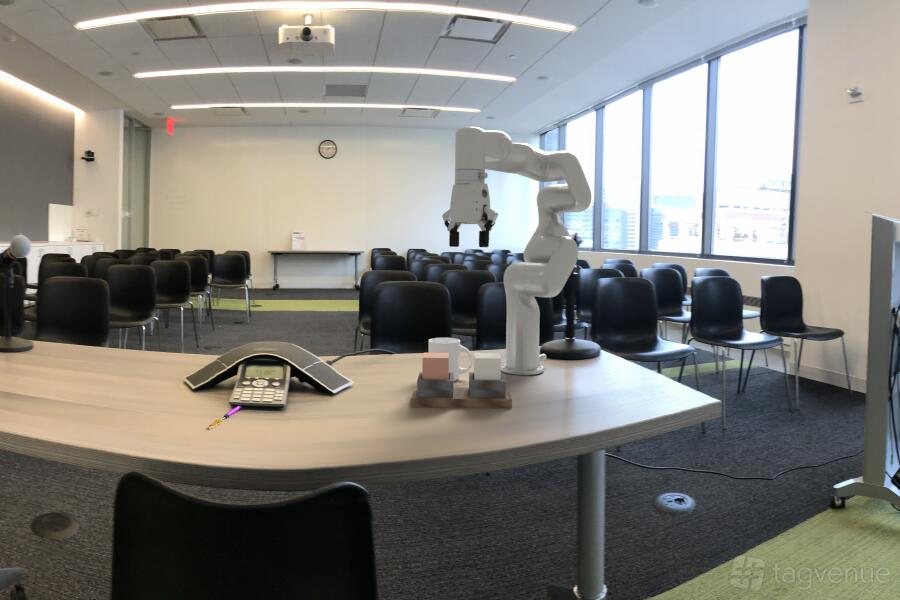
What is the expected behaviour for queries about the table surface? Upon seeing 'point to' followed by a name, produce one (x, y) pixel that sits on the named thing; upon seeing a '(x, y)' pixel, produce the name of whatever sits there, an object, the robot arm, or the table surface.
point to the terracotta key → (435, 366)
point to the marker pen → (225, 416)
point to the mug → (451, 353)
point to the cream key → (487, 366)
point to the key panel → (461, 393)
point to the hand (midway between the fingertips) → (468, 246)
